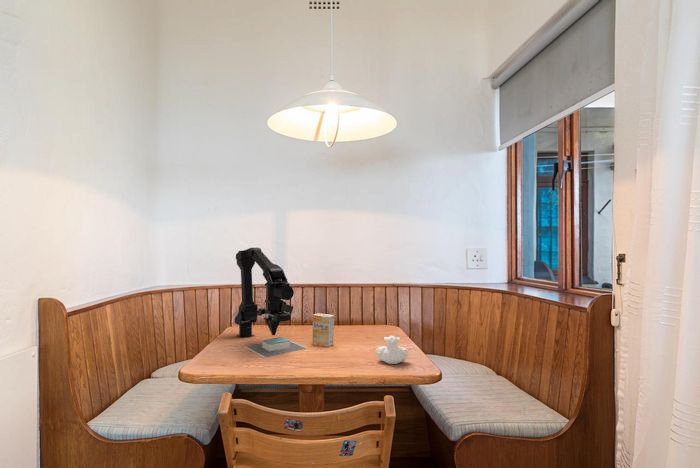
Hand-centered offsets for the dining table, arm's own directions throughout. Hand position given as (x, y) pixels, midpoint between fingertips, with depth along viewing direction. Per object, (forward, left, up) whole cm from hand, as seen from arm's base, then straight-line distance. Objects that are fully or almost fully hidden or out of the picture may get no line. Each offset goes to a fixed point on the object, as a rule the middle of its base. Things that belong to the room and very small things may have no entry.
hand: (273, 335), depth 156 cm
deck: (-1, 0, -3) cm, 3 cm away
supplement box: (+10, +18, -5) cm, 21 cm away
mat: (+2, 0, -5) cm, 6 cm away
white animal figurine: (+44, +25, -5) cm, 51 cm away
